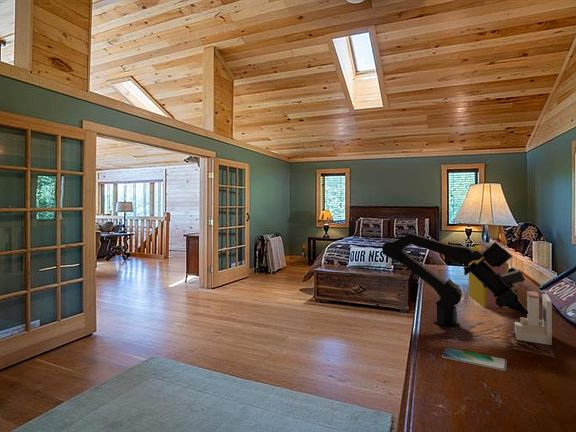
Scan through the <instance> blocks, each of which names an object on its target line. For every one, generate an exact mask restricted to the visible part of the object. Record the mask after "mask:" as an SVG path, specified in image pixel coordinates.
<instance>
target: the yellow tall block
mask: <svg viewBox="0 0 576 432" xmlns="http://www.w3.org/2000/svg"><path fill="white" fill-rule="evenodd" d="M492 244H493V243H492V242H481V243H479V244H477V245H474V246H473V247H472V248H471V249H472V250H473V251H480V252H484V251H485V250H487V249H488V248H489V247H490V246H491V245H492ZM483 258H484V257H482V258H481V259H480V260H474V261H472V262H471V263H469V264H468V266H469V265H471V264H472V263H473V262H476V263H478V262H479V261H481V260H482V259H483ZM484 262H485V263H486V264H487V265H488V266H489V267H490V268H492V269H493V270H494V271H495V272H496V273H499V274H501V275H504V274H505V273H508V264H507V262H505V263H504V264H503V265H501V266H500V267H499V268H498V267H497V266H496V267H492V266H491V265H490V264H488V263H487V262H486V261H485V260H484ZM468 296H469V298H470V299H472V300H474V301H475V302H476V303H478V304H479V305H480V306H482V307H483V308H488V309H489V308H490V309H491V308H492V309H493V308H494V309H508V307H506V306H503V307H502V308H500V307H499V306H498V305H497V304H496V298H495V297H494V296H493V293H492V292H491V291H489V290H488V289H487V288H485V287H484V286H483V284H482V283H481V282H480V281H479V280H478V279H477V278H476V277H475V276H474V275H473V274H472V273H471V272H469V273H468Z"/></svg>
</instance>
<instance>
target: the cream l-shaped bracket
mask: <svg viewBox="0 0 576 432" xmlns="http://www.w3.org/2000/svg"><path fill="white" fill-rule="evenodd" d="M552 305H553V303H552V299H550V297H549V295H548V294H547V293H542V307H541V309H542V310H541V312H542V319H539V327H536V326H529V325H528V324H527V317H520V318H519V319H520V320H519V321H520V322H518V321H515V322H514V333H515V339H516V340H518V341H524V342H530V343H537V344H543V345H550V346H552V345H553V342H552V341H553V340H552V339H553V337H552V336H553V334H552V333H553V332H552V331H553V328H552V327H553V326H552V325H553V324H552V323H553V321H552V320H553V319H552V318H553V314H552V312H553V306H552Z"/></svg>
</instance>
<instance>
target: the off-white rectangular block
mask: <svg viewBox="0 0 576 432" xmlns="http://www.w3.org/2000/svg"><path fill="white" fill-rule="evenodd" d="M526 294H527V295H526V297H527V300H526V301H527V305H526V307H527V308H526V310H527V311H528V314H527V317H526V318H527V324H528V325H529V326H536V327H539V320H540V296H539V293H538V292H537V291H531V290H530V291H529V290H527V293H526Z"/></svg>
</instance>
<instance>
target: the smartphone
mask: <svg viewBox="0 0 576 432" xmlns="http://www.w3.org/2000/svg"><path fill="white" fill-rule="evenodd" d="M441 357H442V358H443V359H447V360H452V361H455V362H456V361H457V362H461V363H465V364H469V365H475V366H480V367H484V368H488V369H494V370H498V371H502V372H503V371H507V364H508V360H507V359H506V358H503V357H496V356H492V355H488V354H487V355H486V354H482V353H476V352H472V351H466V350H462V349H456V348H452V347H446V348H445V350H444V351H443V354H442V355H441Z"/></svg>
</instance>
